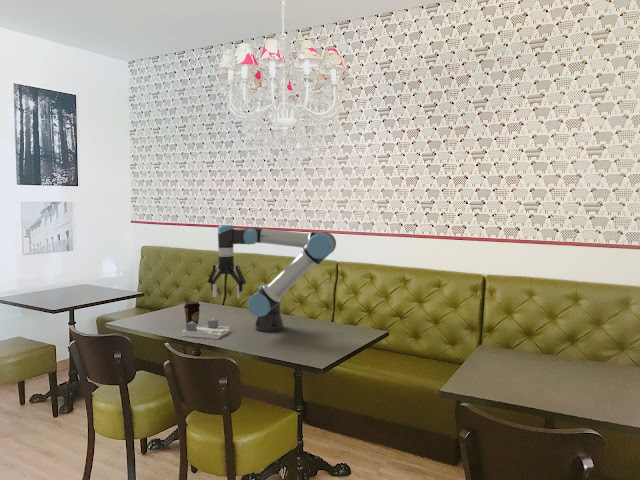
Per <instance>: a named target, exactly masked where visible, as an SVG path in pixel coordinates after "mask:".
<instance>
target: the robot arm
mask: <svg viewBox="0 0 640 480" xmlns="http://www.w3.org/2000/svg"><path fill="white" fill-rule="evenodd" d="M217 241H218V247H217V250H218V264H213V265H212V270H211V272H210V275H209V277H208V279H207V283H208V284H211V285H210V287H211V288H210V289H211V291H212V298H216V297H218V293H217V292H218V289H217V281H218V280H219V279H220V278H221V276H222V275H230V276H231V277H232V278H233V280H235V282H236V283H237V284H238V285H237V286H236V288H237V289H236V292H237V294H236V297H237V298H236V299H241V298H242V292H243V285H246V284H247V281H246V279H245V277H244V275H243V273H242V271H241V267H240V265H235V264H234V263H235V258H234V256H233V255H234V254H235V253H234V245H255V244H257V243H258V244H267V245H278V246H286V247H294V248H301V252H300V253H299V254H298V255H297V256H296V257H295V258H294V259H292V261H291V262H290V263H289V264H287V266H286V267H285V268H284V269H283V270H281V272H280V273H278V275H277V276H276V277H275V278H274V279H272V281H270V283H268V284H267V283H266V284H261V285H258V288H257V291H256V292H255V293H253V294H251V296H249V298H248V300H247V308H248V311H249V312H250V313H251V314H252V315H253V316H255V317H256V319H255V320H256V321H255V323H254V327H255V328H254V329H255V330H256V331H258V332H263V333H269V332H270V333H272V332H278V331H279V332H280V331H282V330H283V329H284V327H285V324H284V321H283V318H282V314H281V298H282V296H284V294H285V293H286V292H288V291H289V290H290V289H291V288H292V286H293V285H294V284H296V283H297V281H299V280H300V279H301V278H302V277H303V276H304V275H305V274H306V273H307V272H308V271H309V270H310V269H311V268H312V267H313V266H314V265H316V266H317V265H320V264H321V263H322V262H323V261H324V260H325V259H326V258H327V257H328V256H329V255H331V254H332V253H333V252H334V251H335V249H336V248H337V240H336V238H335V236H334V235H333V234H331V233H330V232H327V231H322V232H321V231H320V232H318V231H317V232H315V231H310V233H307V232H305V233H304V232H297V231H290V230H289V231H288V230H276V229H267V228H258V227H255V226H253V227H249V228H237V229H236V228H234V226H233V225H232V224H221V225H219V226H218V229H217ZM218 270H219V271H218ZM234 270H235V271H236V272H235V271H234ZM217 271H218V272H217ZM216 273H217V274H216ZM215 275H216V276H215Z"/></svg>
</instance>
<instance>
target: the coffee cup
mask: <svg viewBox="0 0 640 480" xmlns="http://www.w3.org/2000/svg"><path fill="white" fill-rule="evenodd" d="M200 307H201V304H200V303H199V301H195V300H194V301H186V302H185V304H184V306H183V309H184V314H185V324H186V323H188V322H191V321H193V322H194V323H196V324H199V321H200V312H201V310H200Z"/></svg>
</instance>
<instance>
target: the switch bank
mask: <svg viewBox="0 0 640 480" xmlns="http://www.w3.org/2000/svg"><path fill="white" fill-rule="evenodd" d="M196 328H197V331H196V332H195V331H186V328H184V329H183V330H181V333H180V334H181V335H180V336H182V337H191V338H202V339H211V340H218V339H220V338H222V337H224V336H225V335H227V334H229V333H231V326H221V325H218V327H217V328H216V329H215V328H208V324H203V323H201V324H200V323H198V324H196Z"/></svg>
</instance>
